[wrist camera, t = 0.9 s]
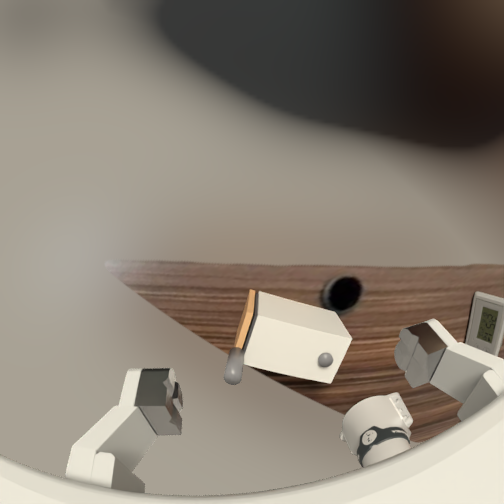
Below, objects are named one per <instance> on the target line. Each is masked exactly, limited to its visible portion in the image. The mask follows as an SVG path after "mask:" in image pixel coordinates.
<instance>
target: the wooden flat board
mask: <svg viewBox="0 0 504 504" xmlns="http://www.w3.org/2000/svg"><path fill="white" fill-rule="evenodd" d="M254 300H255V291H254V290H251V289H250V292H249V295H248V298H247V301H246V304H245V308H244V311H243V314H242V317H241V321H240V324H239V327H238V330H237V335H236V340H235V345H234V348H232V349H231V350H230V352H229V356H228V361H227V365H226V369H225V374H224V380H225V381H226V382H227V383H228V384H231V385H236V384H238V383H240V381H241V378H242V369H243V362H244V351H243V349H242V347H243V344H244V341H245V338H246V335H247V331H248V328H249V325H250V322H251V319H252V316H253V312H254Z"/></svg>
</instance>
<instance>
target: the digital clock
mask: <svg viewBox="0 0 504 504" xmlns="http://www.w3.org/2000/svg"><path fill="white" fill-rule="evenodd" d="M503 337H504V298H501V297H497V296H494V295H490V294H486V293H483V292H479V291H477V292H475V294H474V299H473V304H472V309H471V315H470V320H469V325H468V330H467V335H466V342H465V344H467V345H469V346H472V347H474V348H477V349H479V350H482V351H484V352H487V353H489V354H492V355H494V356H498V353H499V349H500V348H501V344H502V340H503Z"/></svg>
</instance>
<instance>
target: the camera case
mask: <svg viewBox="0 0 504 504" xmlns="http://www.w3.org/2000/svg"><path fill="white" fill-rule="evenodd" d="M351 340H352V338H351V336H350V334H349V333H348V331H347V330H346V328H345V327H344V325H343V323H342V322H341V320H340V319H339V317H338V316H337V314H336V313H335V312H333V311H329V310H325V309H322V308H318V307H314V306H310V305H307V304H303V303H299V302H296V301H292V300H289V299H285V298H281V297H278V296H274V295H271V294H267V293H264V292H260V291H259V293H256V296H255V300H254V312H253V316H252V319H251V322H250V325H249V328H248V331H247V335H246V338H245V341H244V344H243V347H242V349H243V351H244V362H243V364H245V365H248V366H252V367H256V368H260V369H264V370H268V371H272V372H277V373H281V374H285V375H290V376H295V377H299V378H304V379H309V380H314V381H320V382H325V383H331V382H332V380H333V378H334V376H335V374H336V372H337V370H338V368H339V366H340V364H341V362H342V360H343V358H344V356H345V353H346V351H347V349H348V347H349V345H350V343H351Z"/></svg>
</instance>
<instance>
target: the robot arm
mask: <svg viewBox="0 0 504 504" xmlns="http://www.w3.org/2000/svg"><path fill="white" fill-rule="evenodd" d="M399 338H400V339H401V341H400V342H399V343H398V344H397V345H396V348H395V352H394V353H395V360H396V363H397V365H398V366H399V368H400V369H402V370H404V371H405V377H406V379H407V380H408V382H409V384H410V385H411V387H412V388H415V387H417V386H420V385H422V384H425V383H427V382H430V383H431V384H432V385H434V386H436V387H437V388H439V389H440V390H442V391H444V392H445V393H447V394H449V395H450V396H452V397H453V398H455V399H457V400H458V401H460V402H461V403H463V405H462V407H461V408H460V410H459V411H458V414H457V415H458V417H459V418H460V420H461V422H460V423H458V424H456V425H455V426H453V427H451V428H449V429H448V430H446V431H444V432H442V433H440V434H439V435H437V436H435V437H433V438H431V439H429V440H427V441H425V442H423V443H421V444H419V445H417V446H415V447H413V448H411V446H410V441H409V437H410V435H411V432H410V430H409V427H410V425H411V424H412V422H413V419H412V417H411V415H410V413H409V411H408V410H407V408H406V406H405V404H404V402H403V400H402V398H401V397H400V395H399V393H397V392H396V393H392V394H389V395H386V396H374V397H370V398H367V399H365V400H362V401H361V402H359V403H357V404H356V405H354V406H353V407H352V408H351V409H350V410H349V411H348V412H347V413H346V415H345V416H344V418H343V422H342V431H341V433H340V439H341V440H343V441H346V442H347V444H348V446H349V449H350V451H351V453H352V454H354V455H357V456H358V460H359V462H360V464H361V466H362V467H363V468H360V469H357V470H354V471H351V472H347V473H345V474H341V475H338V476H334V477H330V478H326V479H322V480H318V481H315V482H310V483H305V484H301V485H296V486H291V487H285V488H280V489H273V490H267V491H259V492H251V493H241V494H228V495H205V496H204V495H203V496H185V495H183V496H182V495H162V494H149V493H145V484H144V483H143V481H142V480H141V479H139V478H138V477H137V476H136V475H135V474H133V473H132V471H133V470H134V469H135V467H136V466H137V465H138V463H139V462H140V461H141V459H142V458H143V456H144V455H145V454H146V452H147V451H148V449H149V448H150V447H151V445H152V444H153V442H154V441H155V440H156V438H157V435H181V429H182V418H181V416H180V414H179V412H180V411H181V409H182V407H183V401H182V392H181V388H180V385H179V383H177V382H175V373H174V371H173V369H172V368H155V369H154V368H153V369H129V370H128V372H127V374H126V378H125V382H124V386H123V389H122V394H121V398H120V402H119V406H114V407H113V408H112V409H111V410H110V411H109V412H108V413H107V414H106V415H105V416H103V417H102V419H100V420H99V421H98V422H97V423H96V424H95V425H94V426H93V427H92V428H91V429H90V430H89V431H88V432H87V433H86V434H84V436H82V437H81V438H80V439H79V440H78V441H77V442H76V443H75V444H74V445H73V446H72V449H71V453H70V457H69V461H68V466H67V470H66V475H65V478H63V477H59V476H56V475H52V474H49V473H46V472H43V471H40V470H37V469H35V468H32V467H29V466H27V465H24V464H21V463H19V462H17V461H14V460H12V459H9V458H7V457H5V456H3V455H0V504H504V359H502V358H499V357H497V356H494V355H492V354H489V353H487V352H484V351H482V350H479V349H477V348H474V347H472V346H469V345H467V344H464V343H462V342H459V343H457V341H456V340H455V339H454V338H453V337H452V336H451V335H450V334H449V333H448V332H447V330H446V329H445V328H444V327H443V326H442V325H441V324H440V323H439V322H438V321H437V320H435V319H431V320H428V321H425V322H423V323H419V324H416V325H413V326H410V327H406V328H403V329H402V331H401V332H400V335H399ZM396 399H397V400H396Z"/></svg>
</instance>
